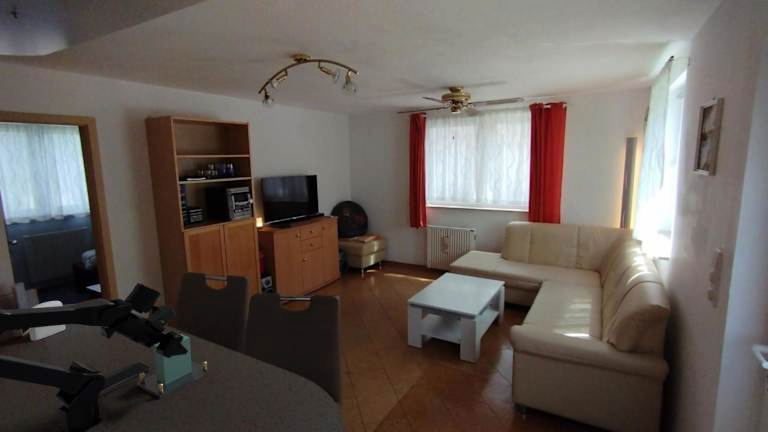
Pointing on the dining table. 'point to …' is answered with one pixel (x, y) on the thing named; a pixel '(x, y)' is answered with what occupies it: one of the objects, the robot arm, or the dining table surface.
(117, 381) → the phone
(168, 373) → the teal rectangular block
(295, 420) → the dining table surface
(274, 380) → the dining table surface
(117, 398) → the dining table surface
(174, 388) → the chassis
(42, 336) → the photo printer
